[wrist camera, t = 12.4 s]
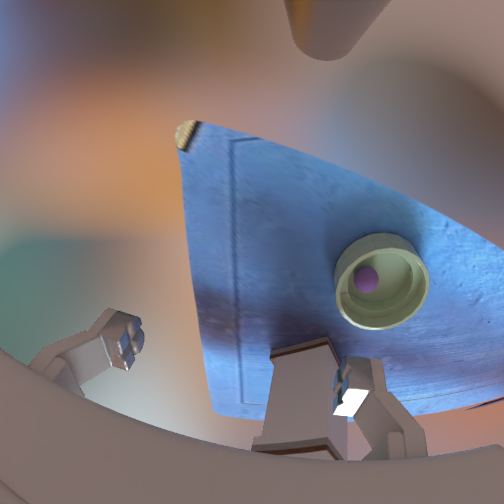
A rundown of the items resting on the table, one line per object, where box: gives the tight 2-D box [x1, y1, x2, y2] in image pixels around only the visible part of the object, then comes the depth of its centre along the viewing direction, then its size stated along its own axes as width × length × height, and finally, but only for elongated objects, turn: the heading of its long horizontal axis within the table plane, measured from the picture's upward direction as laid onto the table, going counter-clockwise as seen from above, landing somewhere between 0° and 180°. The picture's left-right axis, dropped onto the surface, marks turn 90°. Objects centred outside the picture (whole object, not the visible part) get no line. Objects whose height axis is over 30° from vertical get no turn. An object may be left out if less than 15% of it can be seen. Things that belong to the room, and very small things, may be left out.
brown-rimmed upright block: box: [251, 336, 347, 461], centre depth 36 cm, size 11×11×35 cm
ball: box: [353, 266, 379, 293], centre depth 38 cm, size 4×4×4 cm
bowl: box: [334, 233, 430, 330], centre depth 38 cm, size 13×13×5 cm
